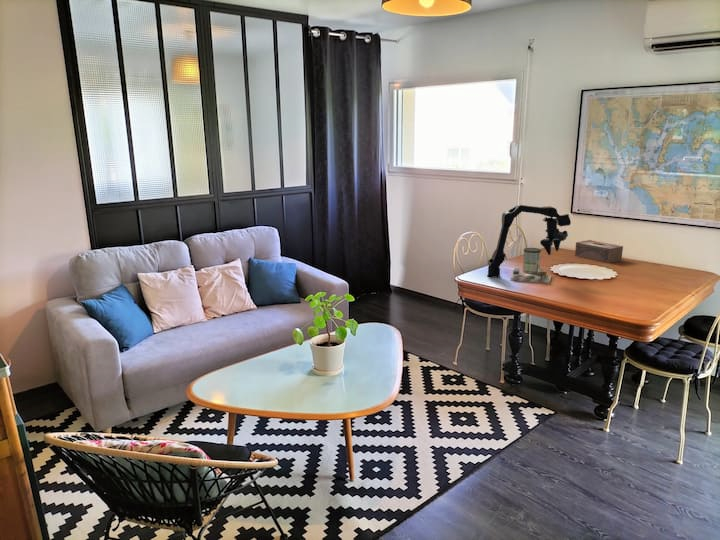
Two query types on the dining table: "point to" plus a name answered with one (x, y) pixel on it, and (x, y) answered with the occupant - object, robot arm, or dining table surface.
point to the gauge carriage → (540, 272)
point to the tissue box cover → (599, 251)
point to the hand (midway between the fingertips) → (553, 252)
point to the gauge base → (529, 277)
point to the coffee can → (531, 260)
